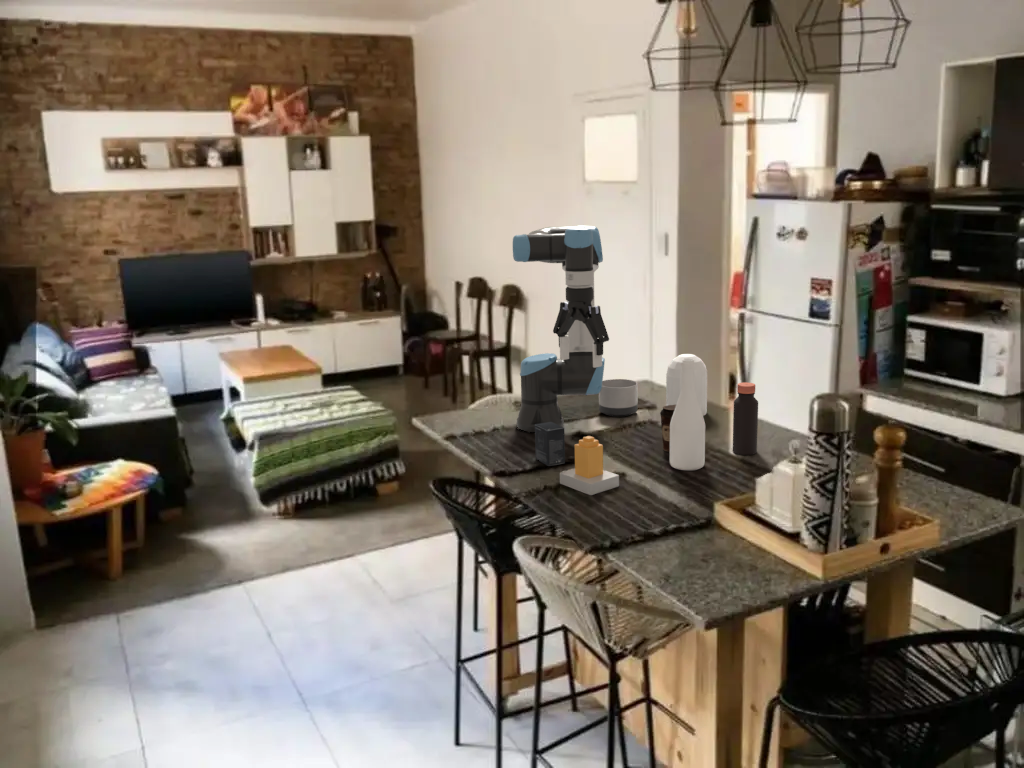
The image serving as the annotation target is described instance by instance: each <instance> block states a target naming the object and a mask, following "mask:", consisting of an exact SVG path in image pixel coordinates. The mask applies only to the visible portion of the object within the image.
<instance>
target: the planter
mask: <svg viewBox="0 0 1024 768" xmlns="http://www.w3.org/2000/svg"><path fill="white" fill-rule="evenodd" d="M638 398H639V397H638V382H637V381H636V380H634V379H633V380H632V379H627V378H612V379H610V378H609V379H603V381H602V388H601V391H600V392H599V393H598V411H599V412H600V413H602V414H604V415H606V416H609V417H614V418H615V417H617V418H621V417H622V418H623V417H624V418H625V417H628V416H631V415H633V414H635V413H636V412H637V411H638V409H639V408H638V400H639V399H638Z"/></svg>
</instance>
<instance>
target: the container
mask: <svg viewBox="0 0 1024 768" xmlns="http://www.w3.org/2000/svg"><path fill="white" fill-rule="evenodd" d="M683 359H694V361H695V368H694V388H695V394H696V397H697V400H698V403H699V406H700V409H701V412H702V415H703V417H704V416H706V415H707V413H708V412H707V411H708V410H707V409H708V406H707V405H708V369H707V365H706V364H705V362H704V361H703V360H702V358H700V357H699V356H698V355H696V354H693V353H682V354H679V355H677V356H676V357H674V358H672V360H671V362H670V363H669V364H668V366H667V370H666V374H665V375H666V376H665V377H666V380H665V381H666V382H665V383H666V385H665V386H666V390H665V391H666V393H665V395H666V396H665V400H666V401H665V406H668V405H677V402H678V399H679V396H680V393H681V388H682V367H681V362H682V360H683Z"/></svg>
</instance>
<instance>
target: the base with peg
mask: <svg viewBox="0 0 1024 768" xmlns="http://www.w3.org/2000/svg"><path fill="white" fill-rule="evenodd" d="M559 484H560V485H563V486H566V487H568V488H570V489H574V490H576V491H579V492H581V493H584V494H586V495H588V496H593V495H595V494H599V493H602V492H606V491H608V490H611V489H615V488H618V487H619V486H620V475H619V474H616V473H613V472H611V471H608V470H605V469H603V474H602V475H599V476H596V477H592V478H589V479H588V478H585V477H582V476H580V475H577V474H575V467H574V468H568V469H565V470H563V471H561V472H559Z"/></svg>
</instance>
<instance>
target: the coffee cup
mask: <svg viewBox="0 0 1024 768" xmlns="http://www.w3.org/2000/svg"><path fill="white" fill-rule="evenodd" d="M675 407H676V405H668V406H666V405H663V406H662V409H661V410H660V413H659V414H660V424H661V425H660V426H661V439H662V447H663V450H664V451H665V452H668V453H670V422H671V419H672V416H673V413H674V410H675Z"/></svg>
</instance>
